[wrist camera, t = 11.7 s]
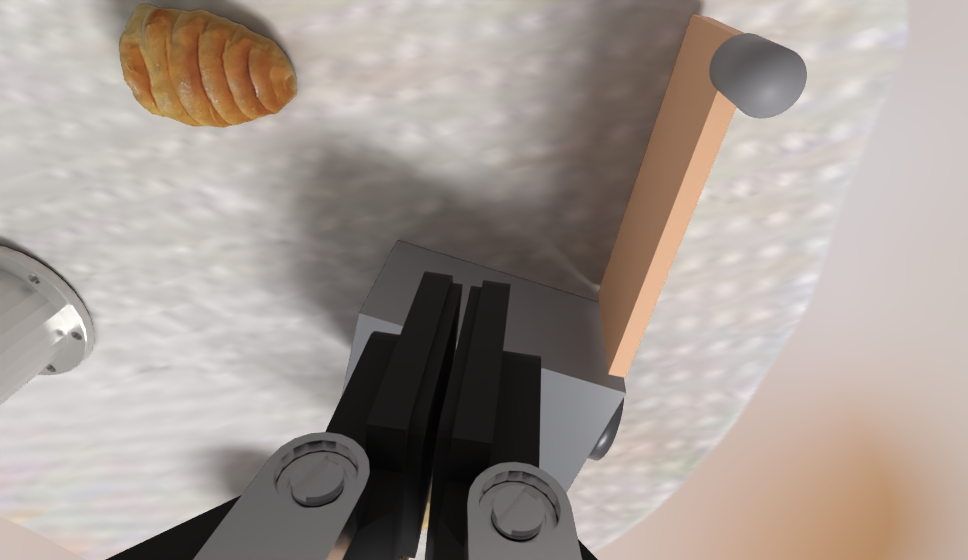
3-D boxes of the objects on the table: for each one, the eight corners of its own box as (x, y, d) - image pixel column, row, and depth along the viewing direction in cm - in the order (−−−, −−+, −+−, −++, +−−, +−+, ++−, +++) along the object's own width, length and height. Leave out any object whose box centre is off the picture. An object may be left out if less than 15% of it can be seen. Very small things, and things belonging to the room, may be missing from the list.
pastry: (295, 13, 32) (265, 21, 28) (308, 129, 35) (283, 148, 32) (139, 0, 32) (93, 7, 29) (168, 116, 36) (130, 133, 33)
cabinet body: (368, 363, 45) (326, 459, 36) (397, 240, 38) (354, 321, 30) (572, 423, 46) (576, 529, 38) (632, 313, 40) (654, 410, 31)
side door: (680, 7, 29) (750, 41, 19) (725, 16, 29) (819, 54, 19) (588, 291, 38) (600, 416, 28) (621, 298, 38) (646, 425, 28)
